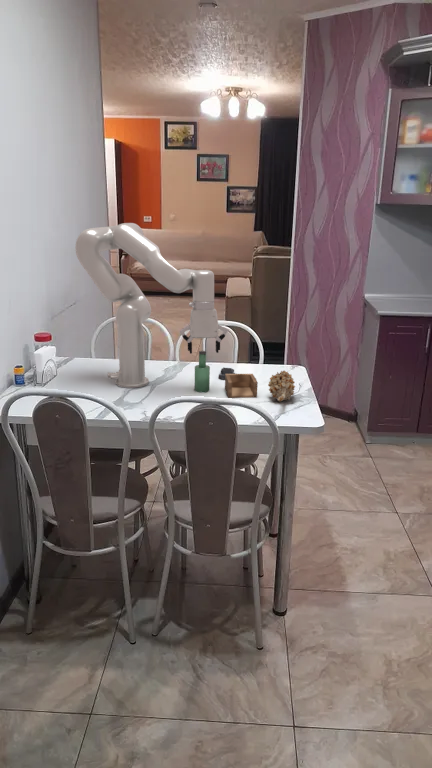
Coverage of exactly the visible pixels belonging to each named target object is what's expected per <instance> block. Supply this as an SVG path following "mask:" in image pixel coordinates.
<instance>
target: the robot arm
mask: <svg viewBox="0 0 432 768" xmlns="http://www.w3.org/2000/svg"><path fill="white" fill-rule="evenodd" d="M118 249H119V250H122V251H123V252H125V253H127V254H128V255H129V256H130V257H131V258H132V259H134V260H135V261H137V262H138V263H140V264H141V265H142V266H144V269H145V270H146V271H147V272H148V273H149V275H150V276H151V277H152V278H153V279H154V280H156V282H158V283H159V284H160V285H162V286H163V287H164V288H166V289H167V290H169V291H170V292H172V293H175V294H181V293H184V292H185V291H189V290H192V301H191V302H189V303H188V307H190V308H191V307H192V309H191V310H190V315H189V316H190V318H189V325H187V326H185V327H182V328H181V329H180V330H179V333H180V335H181V337H182V338H183V339H184V340H185V341H186V342H187V351H188V352H189V354H191V355H192V354H193V342H192V340H194V339H215V352H216V353H217V354H219V351H221V342H222V340H224V339H225V337H226V335H227V333H228V331H229V329H227V328H226V327H224V326H222V325H220V324H219V320H218V319H219V317H218V311H217V309H216V308H215V274H214V272H213V271H212V270H208V269H199V270H198V269H197V270H196V269H189V268H180V269H177V268H175V267H174V266H173V265H172V264H170V263H169V262H168V261H167V260H166V259H165V258H164V257H163V256H162V254H161V251H160V247H159V246H158V245H157V244H156V243H154V242H153V241H152V240H150V239H149V238H148V237H146V236H145V235H144V230H143V229H142V228H141V226H139V225H138V224H137V223H134V222H124V223H119V224H117V225H111V226H102V227H100V226H99V227H90V228H86V229H84V230H82V231H81V232H80V234H79V235H78V237H77V239H76V241H75V254H76V258H77V259H78V262H79V263H80V265H81V266H82V268H83V269H84V270H85V272H86V273H87V274H88V276H89V277H90V279H91V280H92V282H93V283H94V284H95V286H96V287H97V289H98V290H99V291H100V293H101V294H102V296H103V297H104V298H105V300H106V301H108V302H109V303H110V302H111V303H117V302H120V303H121V304H120V305H119V306H118V307H117V309H116V312H115V321H116V326H117V327H116V328H117V336H118V338H117V342H118V362H119V363H118V365H119V370H118V371H116V372H107V378H108V379H109V378H110V379H111V380H114V379H115V384H116V386H119V387H121V388H127V389H128V388H129V389H130V388H131V389H132V388H133V389H134V388H141V387H145V386H148V385H149V383H150V379H149V378H148V377H147V376H146V371H145V370H146V368H145V366H146V365H145V363H146V362H145V356H146V355H145V333H144V329H143V328H144V327H143V322H145V321H147V320H148V319H149V318H150V316H151V314H152V306H151V304H150V302H149V300H148V299H147V297H146V295H145V293H143V291H142V290H141V289H140V287H139V285H138V284H137V283H136V281H135V280H134V279H133V278H132V276H129V275H127V274H125V273H117V272H116V271H115V269H114V267H112V265H111V264H110V262H109V261H108V260H107V259H106V258H105V257H104V256H103V255H102V254H101V252H105V251H112V250H118ZM219 330H220V331H222V333H221V334H220V335H219ZM187 331H189V335H186V332H187Z"/></svg>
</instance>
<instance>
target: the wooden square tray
mask: <svg viewBox="0 0 432 768" xmlns="http://www.w3.org/2000/svg"><path fill="white" fill-rule="evenodd" d="M255 378H256V377H255V375H254V374H253V373H235V374H225V380H224V390H225V393H226V395H227V398H228V399H233V398H234V399H235V398H236V399H238V398H240V399H242V398H245V399H246V398H247V399H248V398H249V399H250V398H258V380H257V378H256V379H255Z"/></svg>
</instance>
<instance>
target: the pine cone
mask: <svg viewBox="0 0 432 768" xmlns="http://www.w3.org/2000/svg"><path fill="white" fill-rule="evenodd" d="M269 379H270V380H269V381H268V383H267V386H268V387H269V388H268V391H269V394H271V395H272V398H274V399H277V402H281V403H282V401H288V400H291V397H292V396H293V395H294V394H295V391H294V390H295V388H296V386H295V385H294V384H295V381H294V378H293V376H292V374H291V373H290V374H289V372H288V371H286V370H281V371H280V372H278V371H277V372H276V373H275V375H274V374H271V376H270V377H269Z"/></svg>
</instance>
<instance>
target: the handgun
mask: <svg viewBox="0 0 432 768" xmlns="http://www.w3.org/2000/svg"><path fill="white" fill-rule="evenodd" d="M225 374H236V373H235V369H233V368H232V367H222V368H221V369H220V373H219V374H218V379H219V380H223V381H225ZM255 379H256V380H257V378H256V377H255Z"/></svg>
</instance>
